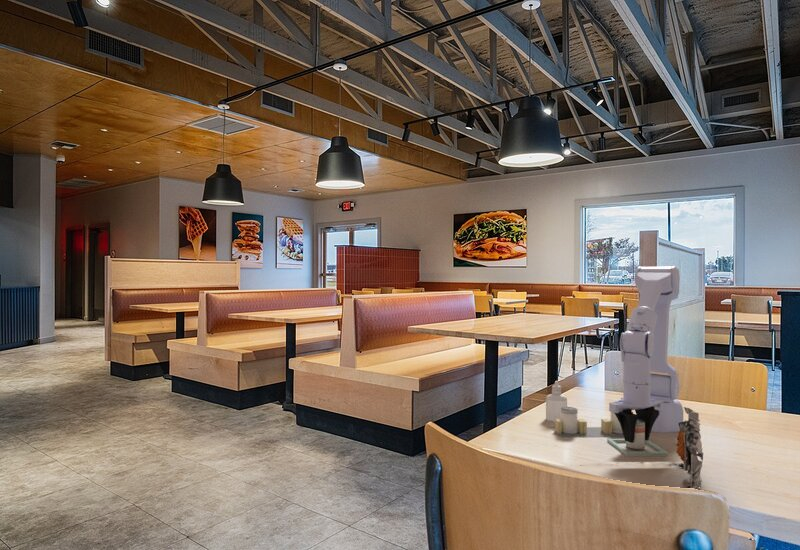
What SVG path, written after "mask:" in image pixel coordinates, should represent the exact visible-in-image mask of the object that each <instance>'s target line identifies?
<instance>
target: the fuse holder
mask: <svg viewBox="0 0 800 550" xmlns="http://www.w3.org/2000/svg"><path fill="white" fill-rule="evenodd" d="M600 420H601V421H600V425H601V426H599V427H598V426H597V427H595V426H594V427H593V426H592V427H591V426H590V427H589V426H588V422H587V420H585V419H584V418H577V430H578V433H577V434H575V435H569V434H564V433H562V422H561V421H560V420H559V419H555V421H554V425H555V426H553V427H550V429H551V430H552V431H553V432H554V433H556V434H557V436H559V437H560V438H624V435H623V434H615V433H612V421H611V419H610V420H609V418H601V419H600Z"/></svg>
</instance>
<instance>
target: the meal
mask: <svg viewBox="0 0 800 550" xmlns="http://www.w3.org/2000/svg"><path fill="white" fill-rule="evenodd" d="M683 410H684V411H685V413H686V414H687V415H688V417H687V418H688V420H683V422H679V423H678V425H679V428H680V431H679V432H678V435H677V438H676V441H677V442H676V445H675V446H676V447H677V448H676V450H675V452H676V454H677V456H678V457H679V459H680V460H681V461H682V462H681V463H680V464H678V465H677V467H679V468H682V469H683V471H684V472H686V471H687V472H686V473H687V474H690V476H689V477H690V484H688V485H687V486H686V488H695V489H699V488H698V487H700V489H702V480H701V471H702V470H701V469H702V464H703V460H704V452H703V446H702V445H703V443H702V440H701V438H702V435H701V429H700V426H701V423H700V421H701V420H700V418H699V412H696V411H694V410H692V409H691V408H689V407H685V406H683ZM698 457H699V458H700V459H698Z"/></svg>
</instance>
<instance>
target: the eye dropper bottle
mask: <svg viewBox="0 0 800 550" xmlns="http://www.w3.org/2000/svg"><path fill="white" fill-rule="evenodd" d="M561 407H568V399H567V396H566V395H564V394H562V386H561V385H559V381H558V380H555V381H554V384H553V385H552V386H551V393H550V394H547V395H546V397H545V420H546V421H548V422H555V419H559V420H560V421H561Z"/></svg>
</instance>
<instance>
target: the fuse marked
mask: <svg viewBox="0 0 800 550" xmlns="http://www.w3.org/2000/svg"><path fill="white" fill-rule="evenodd" d="M625 446H626V447H627V448H629V449H633V450H645V449H646V443H645V421H644V420H641V419H637V422H636V426H635V438H634V443H630V442H627V441H626V443H625Z"/></svg>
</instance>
